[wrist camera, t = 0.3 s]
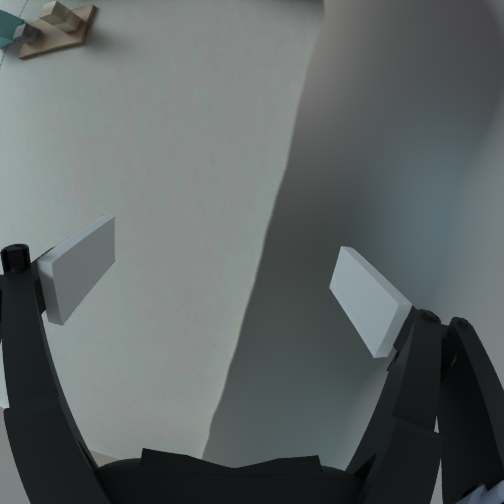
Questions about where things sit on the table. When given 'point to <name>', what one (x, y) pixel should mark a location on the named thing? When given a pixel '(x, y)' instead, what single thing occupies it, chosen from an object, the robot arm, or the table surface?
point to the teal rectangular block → (8, 27)
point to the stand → (54, 29)
